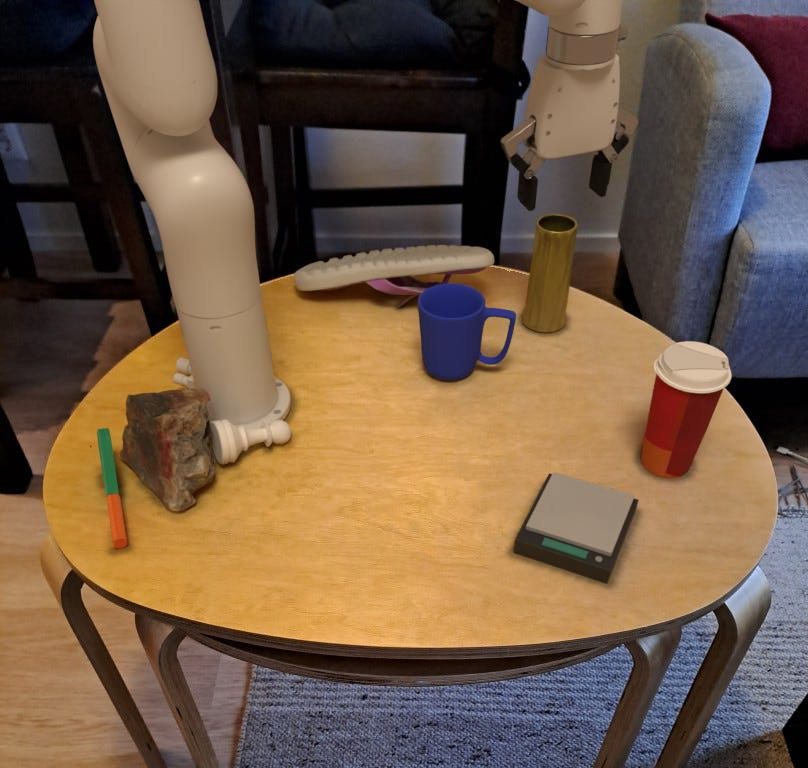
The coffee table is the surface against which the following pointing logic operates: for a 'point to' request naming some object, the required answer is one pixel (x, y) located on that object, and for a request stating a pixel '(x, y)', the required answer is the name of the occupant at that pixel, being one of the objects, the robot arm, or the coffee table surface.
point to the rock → (170, 443)
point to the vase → (550, 273)
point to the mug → (456, 330)
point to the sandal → (394, 268)
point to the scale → (576, 526)
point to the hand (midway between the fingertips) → (562, 199)
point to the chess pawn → (244, 438)
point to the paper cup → (682, 405)
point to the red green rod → (111, 488)
